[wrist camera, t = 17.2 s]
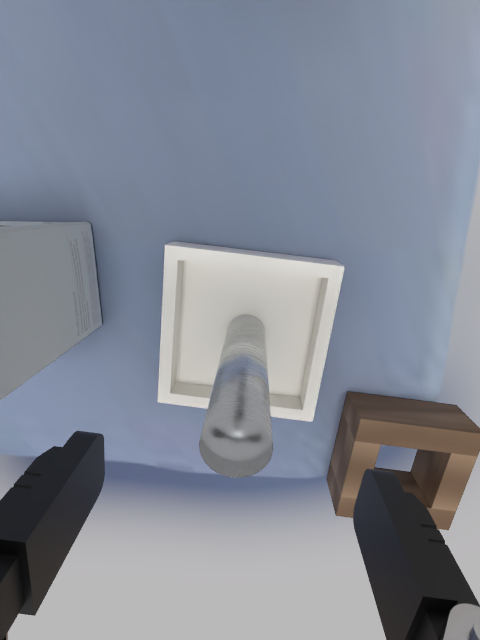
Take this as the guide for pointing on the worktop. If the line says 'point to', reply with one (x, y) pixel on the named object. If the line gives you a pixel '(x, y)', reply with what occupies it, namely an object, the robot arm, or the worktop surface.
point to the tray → (254, 299)
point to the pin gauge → (239, 404)
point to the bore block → (411, 432)
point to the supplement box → (44, 295)
